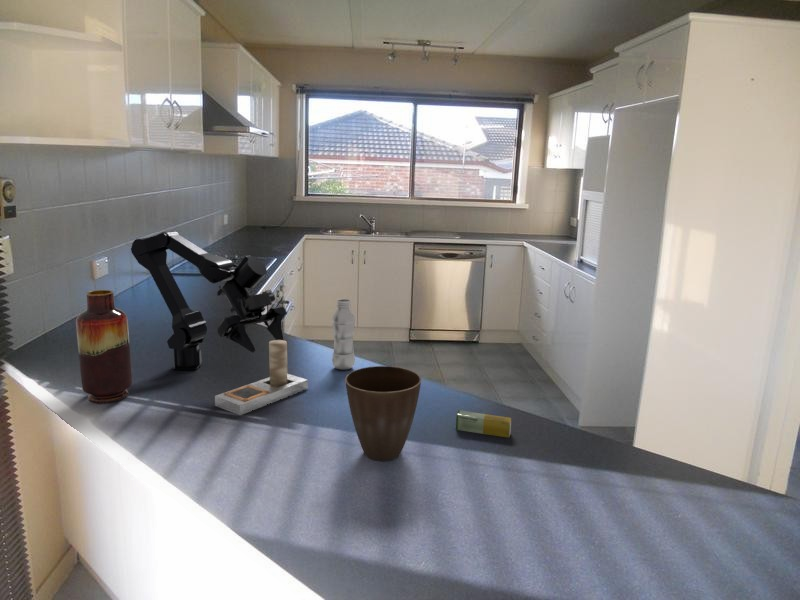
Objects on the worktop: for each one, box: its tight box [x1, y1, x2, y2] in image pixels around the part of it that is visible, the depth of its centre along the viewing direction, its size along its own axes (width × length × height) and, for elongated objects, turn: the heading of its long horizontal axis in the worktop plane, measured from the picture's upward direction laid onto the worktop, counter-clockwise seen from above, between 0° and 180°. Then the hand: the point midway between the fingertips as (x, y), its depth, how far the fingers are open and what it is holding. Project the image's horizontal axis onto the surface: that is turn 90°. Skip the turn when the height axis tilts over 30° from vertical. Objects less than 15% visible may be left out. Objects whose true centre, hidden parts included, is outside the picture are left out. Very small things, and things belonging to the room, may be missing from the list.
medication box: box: [455, 409, 512, 438], centre depth 132 cm, size 12×3×4 cm, turn 73°
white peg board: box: [214, 373, 309, 416], centre depth 149 cm, size 22×9×3 cm, turn 144°
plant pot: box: [344, 365, 422, 462], centre depth 119 cm, size 15×15×16 cm
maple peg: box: [268, 339, 288, 387], centre depth 152 cm, size 4×4×13 cm
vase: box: [75, 289, 133, 404], centre depth 144 cm, size 11×11×26 cm
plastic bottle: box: [331, 298, 356, 370], centre depth 170 cm, size 6×7×20 cm
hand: (268, 347), depth 153 cm, fingers open, 9 cm apart
